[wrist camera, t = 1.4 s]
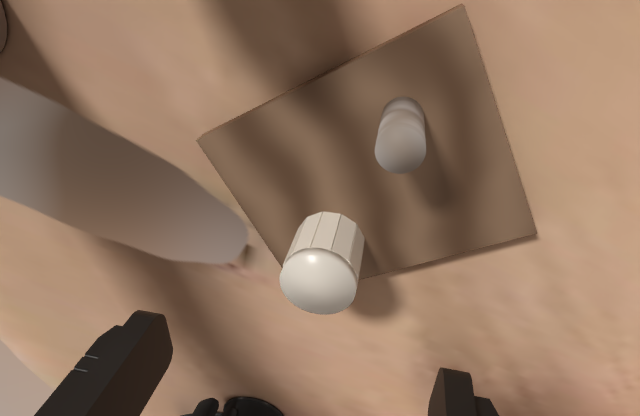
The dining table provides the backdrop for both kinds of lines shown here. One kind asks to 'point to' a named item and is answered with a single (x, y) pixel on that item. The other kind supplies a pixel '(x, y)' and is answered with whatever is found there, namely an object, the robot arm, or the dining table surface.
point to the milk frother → (236, 408)
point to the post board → (344, 161)
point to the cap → (323, 264)
